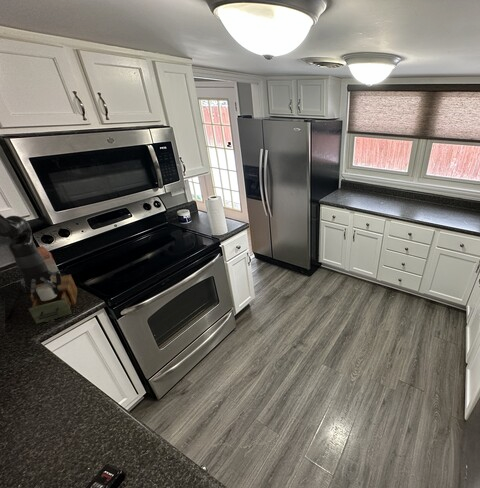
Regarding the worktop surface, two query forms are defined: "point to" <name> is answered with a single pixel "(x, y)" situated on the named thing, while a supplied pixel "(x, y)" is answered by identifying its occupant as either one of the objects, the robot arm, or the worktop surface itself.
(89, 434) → the worktop surface
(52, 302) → the drawer
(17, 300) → the worktop surface
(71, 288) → the cabinet
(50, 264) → the cracker box
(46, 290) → the grey cylinder
